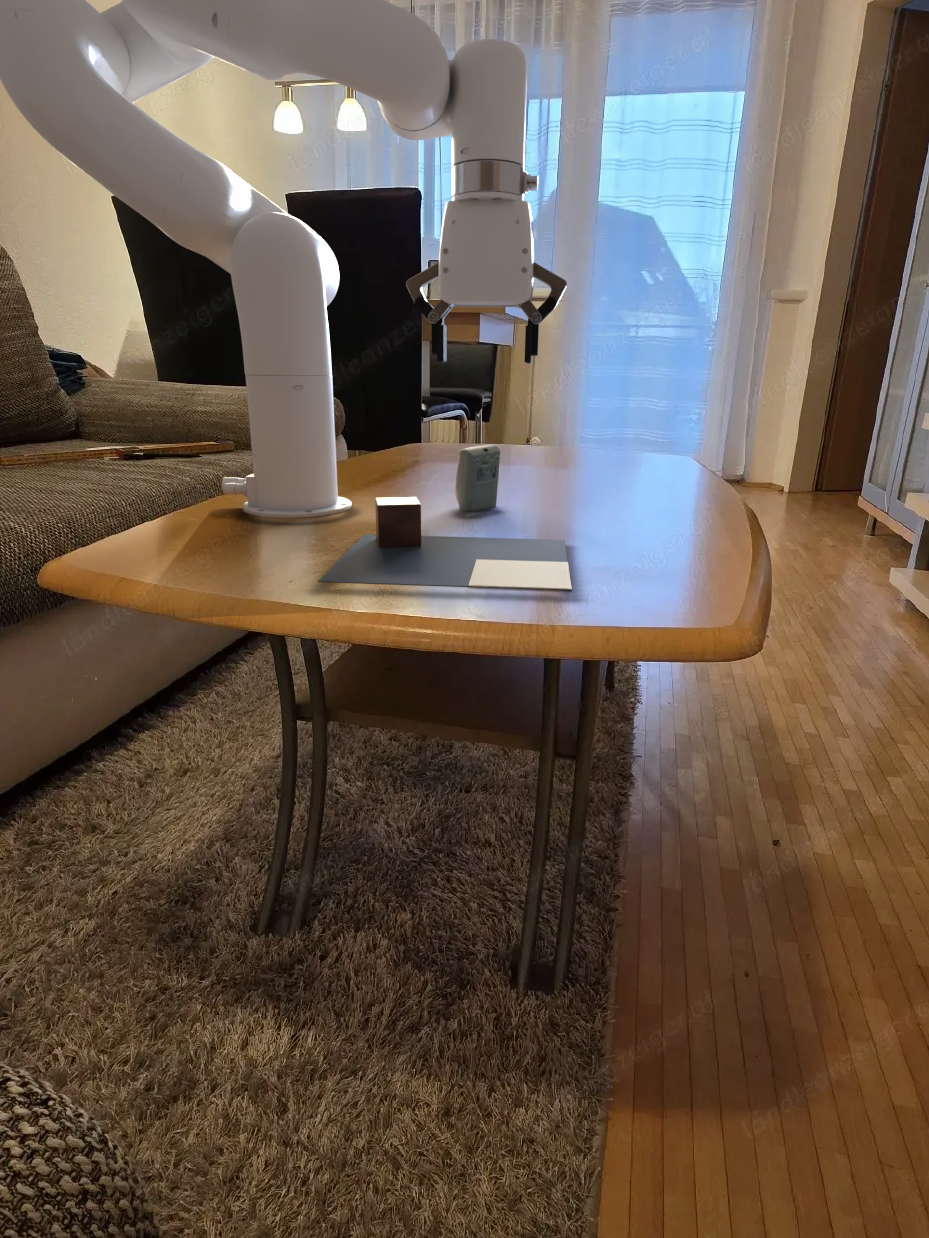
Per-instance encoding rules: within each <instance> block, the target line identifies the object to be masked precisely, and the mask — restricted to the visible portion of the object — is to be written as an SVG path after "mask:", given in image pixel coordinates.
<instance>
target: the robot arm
mask: <svg viewBox="0 0 929 1238" xmlns="http://www.w3.org/2000/svg"><path fill="white" fill-rule="evenodd" d="M448 57H449V56H448V54H447V50H446V47H445V44H444V42H443V41H442V39H441V37H440V36H439V34H438V33H437V32H436V31H435V29H434V28H433V27H432V26H431V25H429V24H428V23H427V22H426V21H425V20H423V19H422V18H421V17H419V16H418V15H417V14H415V13H412V12H411V11H408V10H406V9H404V8H402V7H400V6H398V5H395V4H393V3H391V2H389V1H386V0H120V2H119V3H116V4H115V5H112V6H111V7H109V8H107V9H106V10H104V11H103V10H102V12H99V11H98V10H97V9H96V8H95V7H94V6H93V5H92V4H90V3H89V2H88V1H87V0H0V82H1V84H2V85H3V87H4V89H5V91H6V93H7V95H8V97H9V98H10V99H11V101H12V103H13V104H14V105H15V107H16V108H17V109H18V111H19V112H20V114H21V115H22V116H23V118H25V120H26V121H27V122H28V124H29V125H30V126H31V127H32V129H34V130H35V131H36V132H37V133H38V135H40V136H41V137H42V139H44V140H45V141H46V143H48V144H49V145H50V146H51V148H53V149H54V150H55V151H57V152H58V153H59V154H60V155H62V157H64V158H65V159H66V160H67V161H69V162H70V163H71V164H72V165H74V166H75V167H76V168H78V169H79V170H80V171H82V172H83V173H84V174H86V175H87V176H88V177H90V178H91V179H93V180H94V181H95V182H97V183H98V184H99V185H101V186H102V187H103V188H104V189H106V190H107V191H108V192H109V193H111V194H112V195H113V196H115V197H116V198H117V199H119V200H120V201H122V202H123V203H124V204H126V205H127V206H128V207H130V208H131V209H133V210H134V211H135V212H137V213H138V214H139V215H141V217H144V218H145V219H147V220H148V221H149V222H150V223H151V224H153V226H155V227H156V228H158V229H159V230H160V231H162V233H164V234H165V235H166V236H167V237H169V238H170V239H171V240H172V241H173V242H175V243H176V244H178V245H179V246H181V247H183V248H185V249H187V250H190V251H192V252H194V253H196V254H199V255H201V256H203V257H205V258H207V259H209V260H210V261H212V262H213V263H214V264H216V265H217V266H219V267H220V268H221V269H223V270H224V271H226V272H227V273H228V274H230V277H231V285H232V290H233V291H232V292H233V296H234V300H235V301H234V302H235V306H236V311H237V316H238V317H237V318H238V323H239V330H240V338H241V345H242V357H243V368H244V375H245V386H246V396H247V397H246V398H247V408H248V409H247V411H248V421H249V422H248V423H249V435H250V446H251V458H252V459H251V460H252V470H253V473H250V474H248V475H246V476H245V478H241V477H234V476H233V477H232V476H231V477H230V476H229V477H228V476H224V477H223V478H222V479H221V490H222V491H223V493H224V494H225V495H226V496H238V495H241V496H242V495H243V497H245V498H246V499H247V501H246V502H244V503H243V504H242V511H243V512H244V513H247V514H249V515H252V516H258V517H265V518H281V519H282V518H293V519H295V518H311V517H312V518H313V517H321V516H329V515H334V514H335V515H336V514H339V513H343V512H345V511H348V510H350V509H351V508H352V501H351V500H350V499H348V498H347V497H343V496H339V490H338V487H339V486H338V469H337V448H336V447H337V446H336V427H335V405H334V385H333V383H334V382H333V370H332V351H331V340H330V328H329V327H330V326H329V320H328V310H327V307H328V306H329V305H331V303H332V301H333V300H334V298H335V297H336V295H337V292H338V289H339V286H340V270H339V264H338V260H337V258H336V255H335V253H334V251H333V250H332V248H331V247H330V245H329V244H328V242H327V241H326V240H325V239H323V238H322V236H320V235H319V234H318V233H317V232H316V231H315V230H314V229H312V228H311V227H310V226H309V225H308V224H306V223H305V222H303V220H301V219H299V218H297V217H295V216H293V215H291V214H289V213H288V212H286V211H285V210H284V209H283V208H281V206H279V205H277V204H275V203H274V202H273V201H272V200H270V199H269V198H268V197H266V196H265V195H264V194H262V193H261V192H260V191H259V190H257V189H256V188H254V187H253V186H252V185H250V183H247V182H246V181H245V180H244V179H243V178H241V177H240V176H238V174H236V173H234V172H233V171H232V170H231V169H230V168H229V167H227V166H226V165H225V164H223V163H222V162H220V161H219V160H217V159H215V158H214V157H212V156H210V155H208V154H206V153H204V152H202V151H200V150H198V148H195V147H194V146H192V145H191V144H189V143H187V142H186V141H185V140H183V139H182V138H180V137H179V136H178V135H175V134H174V133H173V132H171V131H170V130H169V129H167V128H166V126H165V127H164V126H163V125H162V124H161V123H159V122H158V121H156V120H155V119H154V118H152V117H151V115H149V114H148V113H147V112H145V111H144V110H143V109H142V108H140V107H139V106H137V105H136V104H135V102H138V101H139V100H141V99H143V98H146V97H147V96H149V95H151V94H153V93H156V91H159V90H161V89H162V88H165V87H168V86H169V85H171V84H173V83H175V82H177V81H179V80H181V79H183V78H185V77H186V76H188V75H190V74H191V73H194V72H195V71H197V70H199V69H200V68H202V67H203V66H205V65H206V64H208V63H209V62H210V61H211V60H213V59H214V58H215V59H217V60H220V61H222V62H225V63H227V64H229V65H232V66H235V67H236V68H238V69H241V70H243V71H245V72H248V73H250V74H252V75H254V76H257V77H258V78H262V79H264V80H268V81H278V80H281V79H283V78H285V77H287V76H289V75H294V74H305V75H310V76H315V77H319V78H323V79H325V80H328V81H330V82H331V81H332V82H335V83H336V84H339V85H341V86H344V87H346V88H348V89H352V90H354V91H356V92H358V93H360V94H363V95H364V96H365V95H366V96H367V97H370V98H371V99H374V100H375V101H377V103H378V106H379V109H380V112H381V114H382V117H383V119H384V121H385V123H386V124H387V125H388V127H389V129H390V130H392V132H393V133H395V134H396V135H398V136H400V138H401V137H402V138H403V139H407V140H411V141H427V140H432V139H437V138H443V137H448V136H451V200H449V201H446V202H445V205H444V210H443V214H442V215H443V217H442V222H441V230H440V240H439V256H438V262H436V263H434V264H433V265H431V266H429V267H427V268H426V269H424V270H422V271H421V272H419V273H417V274H415V275H414V276H412V277H410V278H409V279H407V280H406V282H405V286H406V289H407V290H408V293H409V294H410V297H411V299H412V300H413V303H414V304H415V307H416V308H417V309H418V311H420V312H421V314H422V315H423V316H424V317H425V318H426V319H427V320H428V322H429V323H430V324H431V355H432V356H436V363H440V364H441V363H442V364H443V363H446V362H447V360H448V356H447V355H448V351H447V349H448V345H447V344H448V342H447V340H448V338H447V337H448V333H447V331H448V330H447V329H448V328H447V325H446V324H445V318H446V317H447V316H448V314H449V313H450V312H451V310H452V309H453V308H454V307H456V308H457V307H459V308H518V307H519V308H520V309H521V310H522V312H523V313H524V315H525V316H526V317H527V324H526V325H525V331H524V332H525V334H524V335H525V336H524V339H525V340H524V363H526V364H532V357H538V356H539V334H540V333H539V332H540V331H539V329H540V324H541V323H542V322H543V321H544V320H545V319H546V318H547V317H548V316H549V315H550V314H551V313H552V312H553V311H554V310H555V308H556V307H557V306H558V304H559V301H560V300H561V299H562V296H563V294H564V292H565V290H566V288H567V285H568V283H567V280H566V279H565V278H563V277H561V276H559V275H558V274H556V273H554V272H552V271H551V270H549V269H547V268H545V267H543V266H542V265H540V264H539V263H537V262H535V251H534V250H535V247H534V245H535V244H534V243H535V240H534V239H535V237H534V223H533V216H532V215H533V214H532V209H531V204H530V202H529V201H526V200H524V199H525V198H524V197H525V196H526V195H527V193H531V191H533V192H534V191H535V192H536V191H538V186H539V175H532V174H530V173H529V174H528V172H527V171H525V163H526V162H525V156H526V153H525V152H526V128H527V125H526V123H527V97H528V95H527V94H528V93H527V92H528V89H527V88H528V61H527V57H526V55H525V53H524V51H523V50H522V48H520V46H518V45H517V44H515V43H513V42H511V41H508V40H505V39H499V38H482V39H477V40H472V41H469V42H466V43H465V44H463V45H462V46H461V47H459V48H458V49H457V50H456V53H455V54H454V56H453V58H452V59H449V58H448ZM535 279H536V280H538V281H540V282H541V283H543V284H545V285H547V286H548V287H550V292H549V294H548V296H547V297H546V300H544V302H542V303H541V305H539V307H538V308H537V307H536V305H535V304H534V303H533V301H532V298H533V295H534V284H535ZM435 280H437V287H438V296H439V301H438V302H437V303H436V304H435V306H433V305H432V304H431V303H430V302H429V301H428V300H427V298H426V296H425V294H424V292H423V289H424V287H425V286H427V285H429V284H430V283H432V282H434V281H435Z"/></svg>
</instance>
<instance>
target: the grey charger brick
mask: <svg viewBox="0 0 929 1238" xmlns="http://www.w3.org/2000/svg"><path fill="white" fill-rule="evenodd" d="M500 460H501V448H500V446H498V445H497V444H483V445H476V446H470V447H465V448H462V449H461V450H459V451H458V461H457V467H456V472H455V484H454V495H455V499H456V501H457V504H458V509H459V511H460V512H474V511H479V510H485V509H490V508H495V507H497V500H498V488H499V487H498V486H499V476H500V475H499V473H500V462H501V461H500Z"/></svg>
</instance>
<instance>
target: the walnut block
mask: <svg viewBox="0 0 929 1238" xmlns="http://www.w3.org/2000/svg"><path fill="white" fill-rule="evenodd" d="M374 503H375V504H374V507H375V535H376V538H377V542H378V545H379V547H410V546H421V536H422V504H421V503H420V501H419V499H418V497H417V496H388V497H387V496H386V497H384V496H383V497H375V498H374Z"/></svg>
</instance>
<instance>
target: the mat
mask: <svg viewBox="0 0 929 1238" xmlns="http://www.w3.org/2000/svg"><path fill="white" fill-rule="evenodd" d="M317 582H318V583H335V584H336V583H338V584H339V583H341V584H366V585H367V584H368V585H369V584H370V585H371V584H372V585H394V586H395V585H398V586H399V585H401V586H424V587H425V586H426V587H427V586H429V587H430V586H431V587H457V588H458V587H459V588H485V589H486V588H488V589H489V588H490V589H515V590H517V589H518V590H544V591H545V590H546V591H547V590H549V591H550V590H551V591H572V590H573V588H572V587H573V586H572V580H571V573H570V566H569V560H568V553H567V547H566V541H565V539H548V538H516V537H515V538H514V537H512V538H511V537H476V536H445V535H444V536H442V535H441V536H440V535H439V536H438V535H421V546H410V547H379V545H378V542H377V538H376V534H374V533H373V534H372V533H371V534H370V533H364V534H363V535H362V536H361V537H360V538H359V539H358V540H357V541H356V542H355V543H354V544H353V545H352V546H351V547H350V548H349V549H348V550H347V551H346V553H344V555H342V556H341V557H340V558H339V560H338V561H336V562H335V563H334V564H333V566H331V568H329V570H327V571H326V573H325V574H324V575H322V577H321V578H319V580H318V581H317Z"/></svg>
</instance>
